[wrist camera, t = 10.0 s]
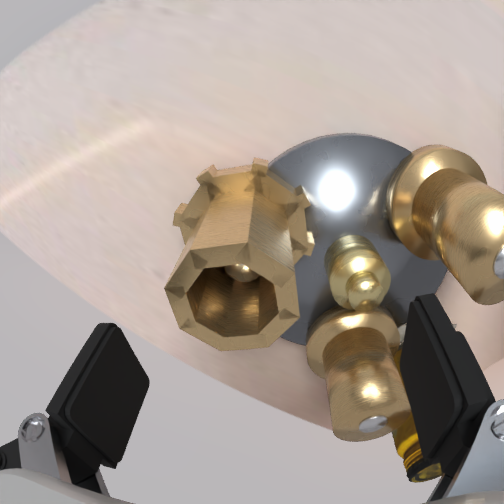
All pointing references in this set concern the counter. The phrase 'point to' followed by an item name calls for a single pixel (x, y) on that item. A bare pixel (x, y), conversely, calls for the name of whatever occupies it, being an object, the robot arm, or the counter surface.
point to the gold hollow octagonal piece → (239, 257)
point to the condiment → (412, 438)
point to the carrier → (382, 261)
